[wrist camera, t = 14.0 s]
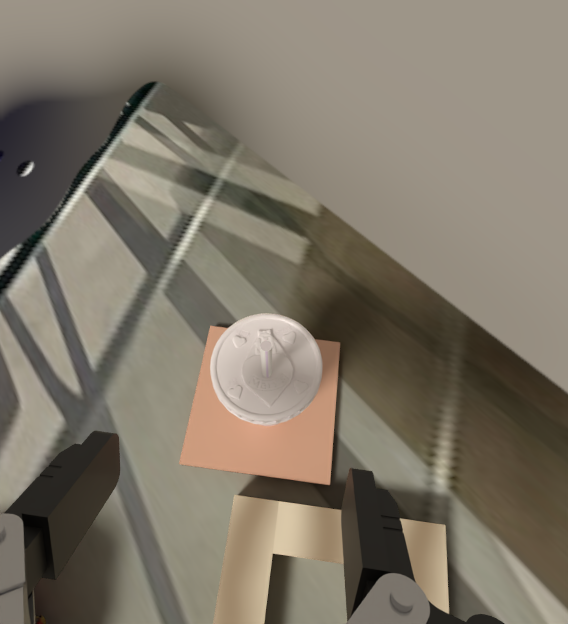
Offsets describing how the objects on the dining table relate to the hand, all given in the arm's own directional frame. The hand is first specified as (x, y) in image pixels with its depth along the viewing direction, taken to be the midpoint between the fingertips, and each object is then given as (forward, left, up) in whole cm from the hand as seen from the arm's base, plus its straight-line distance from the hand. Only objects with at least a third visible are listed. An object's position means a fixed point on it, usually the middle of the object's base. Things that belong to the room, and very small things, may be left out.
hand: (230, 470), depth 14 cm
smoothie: (0, -6, -16) cm, 18 cm away
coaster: (0, -6, -17) cm, 18 cm away
